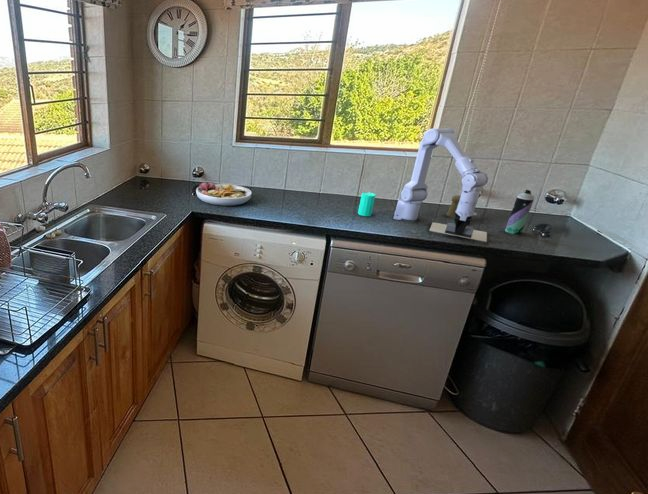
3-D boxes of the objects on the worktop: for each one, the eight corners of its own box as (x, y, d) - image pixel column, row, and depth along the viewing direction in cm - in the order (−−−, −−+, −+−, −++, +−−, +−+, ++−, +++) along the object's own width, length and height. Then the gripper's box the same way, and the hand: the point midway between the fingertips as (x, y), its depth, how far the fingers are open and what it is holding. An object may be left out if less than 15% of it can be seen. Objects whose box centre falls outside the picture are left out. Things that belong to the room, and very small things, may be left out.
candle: (370, 213, 202) (375, 190, 197) (371, 216, 197) (376, 193, 192) (357, 211, 204) (362, 188, 200) (357, 215, 199) (362, 191, 195)
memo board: (428, 232, 178) (429, 230, 177) (432, 224, 188) (432, 222, 188) (485, 244, 166) (486, 241, 166) (486, 234, 176) (486, 232, 176)
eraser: (471, 234, 169) (473, 227, 167) (471, 238, 165) (473, 230, 164) (445, 229, 174) (447, 222, 173) (444, 232, 171) (446, 225, 169)
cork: (463, 219, 194) (469, 198, 190) (449, 219, 195) (455, 197, 191) (456, 215, 199) (463, 194, 195) (443, 215, 200) (449, 193, 196)
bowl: (257, 196, 227) (259, 183, 224) (240, 211, 203) (241, 196, 200) (208, 189, 242) (209, 176, 239) (186, 201, 218) (187, 187, 215)
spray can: (500, 231, 179) (516, 188, 172) (512, 231, 180) (528, 188, 172) (512, 236, 174) (528, 192, 167) (523, 236, 175) (540, 191, 167)
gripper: (479, 207, 157) (469, 239, 162) (480, 199, 167) (470, 229, 172) (457, 204, 161) (448, 235, 166) (459, 196, 171) (450, 226, 176)
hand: (458, 232), depth 169 cm, fingers closed on eraser, 4 cm apart
